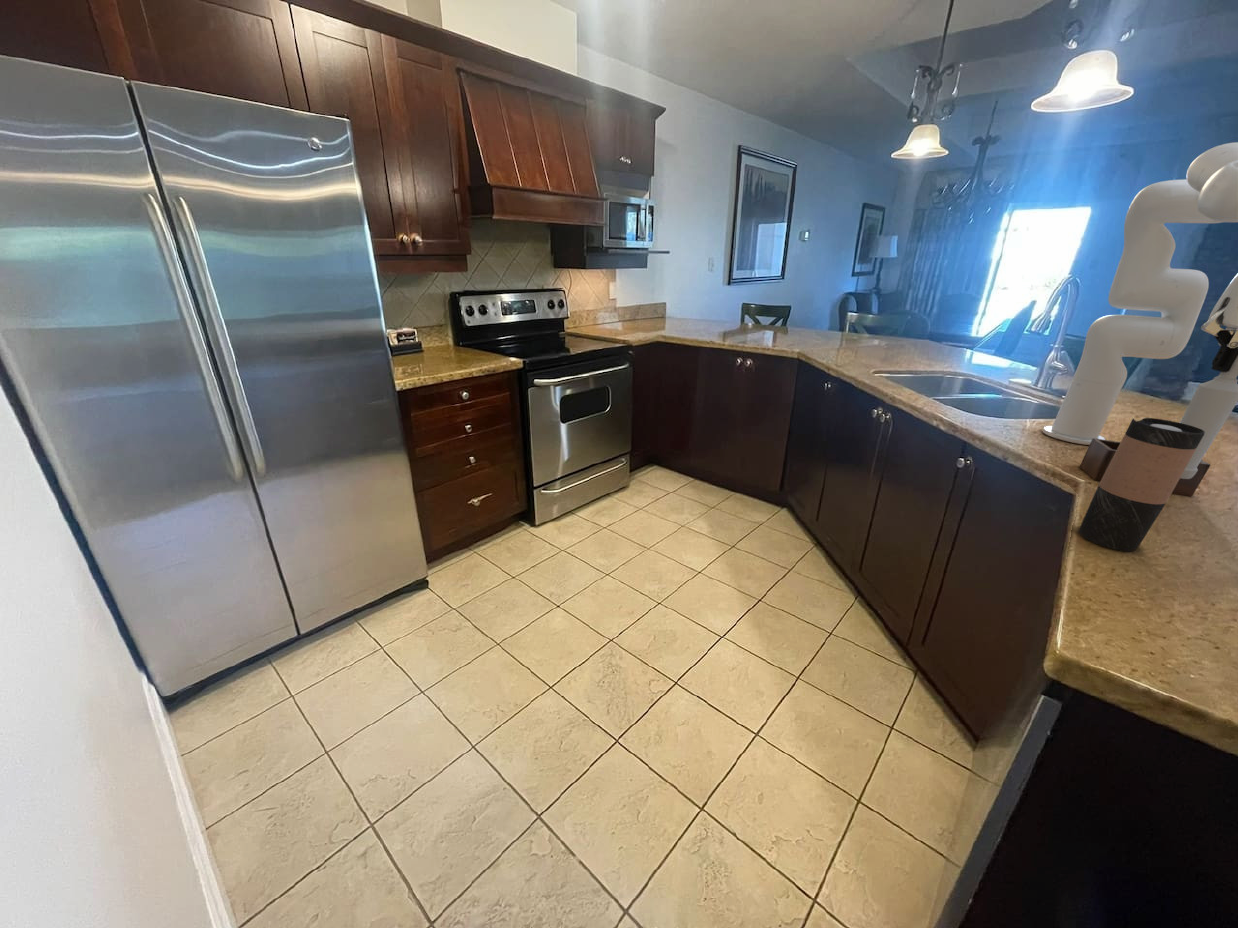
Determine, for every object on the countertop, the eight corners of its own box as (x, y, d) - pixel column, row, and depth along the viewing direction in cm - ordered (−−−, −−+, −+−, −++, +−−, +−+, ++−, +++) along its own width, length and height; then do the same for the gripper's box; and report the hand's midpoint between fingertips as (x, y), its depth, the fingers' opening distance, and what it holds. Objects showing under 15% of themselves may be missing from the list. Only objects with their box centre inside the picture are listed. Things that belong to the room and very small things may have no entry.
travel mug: (1146, 558, 73) (1217, 437, 65) (1081, 542, 77) (1141, 426, 69) (1130, 536, 79) (1193, 423, 71) (1071, 522, 83) (1124, 413, 75)
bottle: (1201, 481, 86) (1284, 341, 76) (1168, 477, 87) (1245, 339, 77) (1177, 469, 91) (1252, 337, 81) (1145, 466, 92) (1216, 335, 82)
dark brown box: (1079, 466, 107) (1092, 438, 105) (1169, 481, 102) (1186, 451, 99) (1094, 480, 101) (1109, 449, 98) (1192, 496, 95) (1210, 464, 92)
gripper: (1350, 257, 74) (1279, 373, 81) (1211, 253, 80) (1157, 362, 87) (1396, 256, 68) (1315, 382, 75) (1241, 252, 74) (1180, 370, 81)
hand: (1230, 370), depth 81 cm, fingers closed on bottle, 2 cm apart
